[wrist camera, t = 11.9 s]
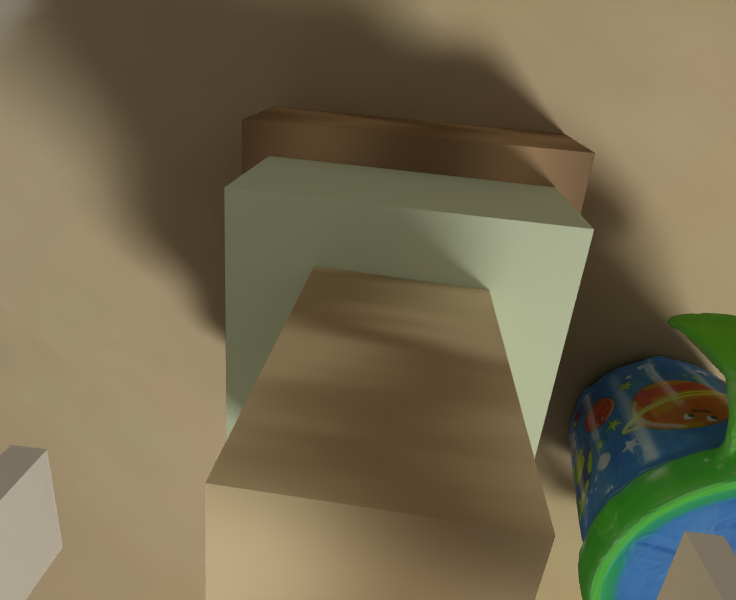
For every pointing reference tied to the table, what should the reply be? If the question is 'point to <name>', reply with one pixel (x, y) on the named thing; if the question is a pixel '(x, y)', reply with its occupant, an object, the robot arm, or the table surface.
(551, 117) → the table surface
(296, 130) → the walnut slab
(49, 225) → the table surface
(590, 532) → the snack cup
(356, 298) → the oak block
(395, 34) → the table surface
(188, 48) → the table surface
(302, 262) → the sage slab
